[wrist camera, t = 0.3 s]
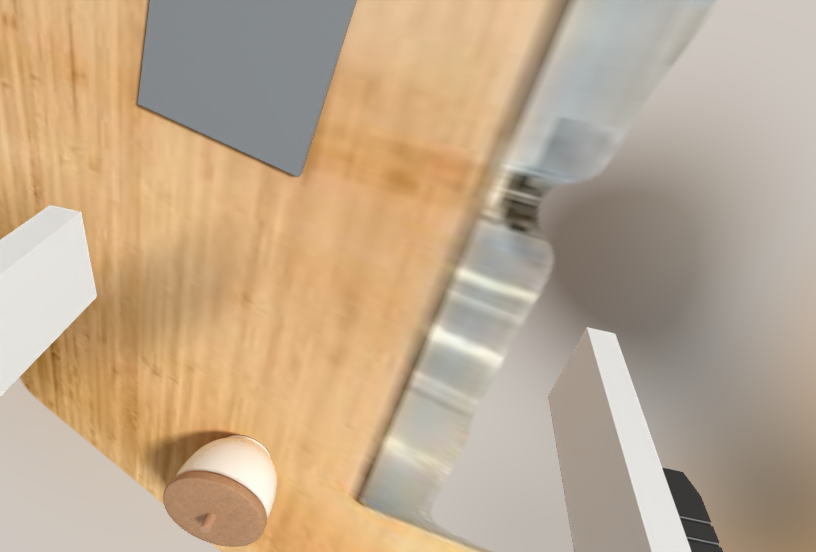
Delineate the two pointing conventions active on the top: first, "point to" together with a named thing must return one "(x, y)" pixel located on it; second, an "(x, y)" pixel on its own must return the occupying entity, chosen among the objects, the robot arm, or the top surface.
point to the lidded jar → (224, 492)
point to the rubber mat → (245, 70)
